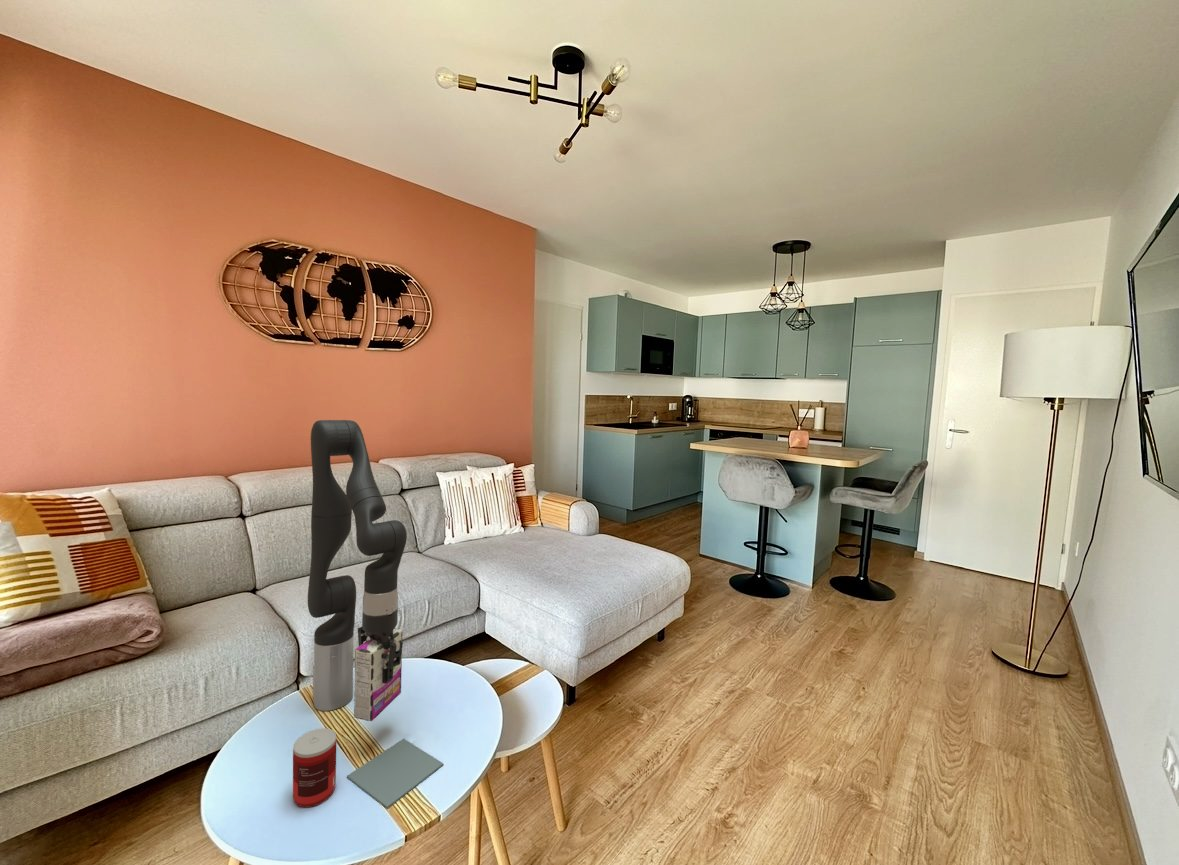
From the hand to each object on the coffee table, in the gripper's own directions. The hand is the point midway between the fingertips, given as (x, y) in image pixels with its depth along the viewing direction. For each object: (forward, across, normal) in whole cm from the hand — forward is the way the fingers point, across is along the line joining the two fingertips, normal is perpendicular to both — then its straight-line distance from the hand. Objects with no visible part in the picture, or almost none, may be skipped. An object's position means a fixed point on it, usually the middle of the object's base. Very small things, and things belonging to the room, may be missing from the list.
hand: (378, 676), depth 111 cm
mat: (+16, +12, -3) cm, 20 cm away
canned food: (+16, +3, -16) cm, 23 cm away
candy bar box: (+7, 0, 0) cm, 7 cm away
